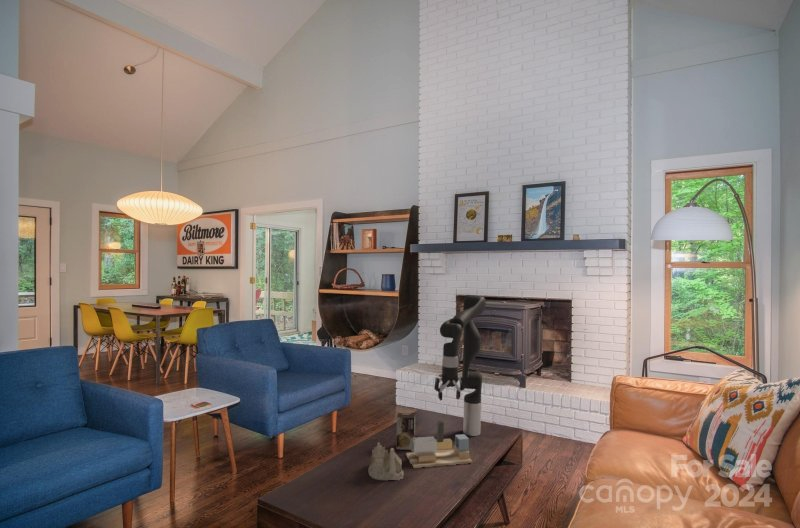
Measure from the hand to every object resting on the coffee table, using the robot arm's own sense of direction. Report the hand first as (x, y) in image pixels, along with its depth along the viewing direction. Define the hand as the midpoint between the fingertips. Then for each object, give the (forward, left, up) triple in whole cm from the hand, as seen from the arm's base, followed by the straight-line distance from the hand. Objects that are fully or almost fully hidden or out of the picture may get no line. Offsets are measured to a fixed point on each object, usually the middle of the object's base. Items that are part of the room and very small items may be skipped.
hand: (449, 399), depth 215 cm
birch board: (+2, -5, -27) cm, 28 cm away
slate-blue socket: (+2, +6, -26) cm, 27 cm away
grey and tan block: (+2, -12, -26) cm, 29 cm away
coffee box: (-14, -17, -28) cm, 35 cm away
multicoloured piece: (+2, -7, -22) cm, 23 cm away
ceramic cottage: (+10, -32, -28) cm, 43 cm away
